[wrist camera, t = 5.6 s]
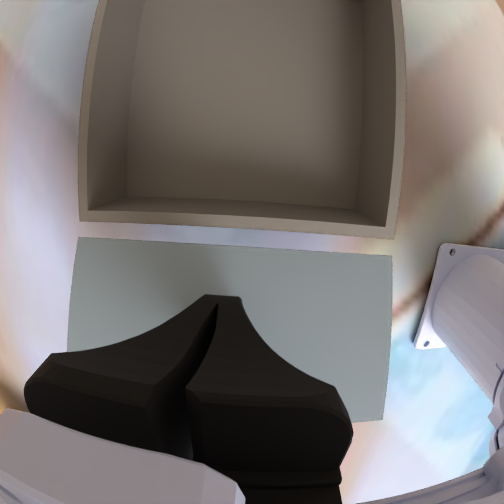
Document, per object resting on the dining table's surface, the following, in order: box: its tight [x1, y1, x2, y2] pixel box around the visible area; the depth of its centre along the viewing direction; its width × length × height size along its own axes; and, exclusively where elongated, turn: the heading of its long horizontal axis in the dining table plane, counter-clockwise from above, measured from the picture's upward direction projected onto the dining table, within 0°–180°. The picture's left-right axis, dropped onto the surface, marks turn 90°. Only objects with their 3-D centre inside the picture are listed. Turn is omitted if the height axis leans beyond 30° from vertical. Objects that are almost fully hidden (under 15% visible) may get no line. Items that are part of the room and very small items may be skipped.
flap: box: [67, 237, 392, 423], centre depth 11 cm, size 14×7×1 cm, turn 87°
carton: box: [78, 0, 406, 240], centre depth 13 cm, size 14×14×5 cm
